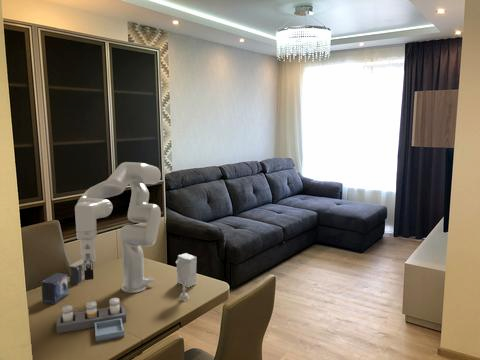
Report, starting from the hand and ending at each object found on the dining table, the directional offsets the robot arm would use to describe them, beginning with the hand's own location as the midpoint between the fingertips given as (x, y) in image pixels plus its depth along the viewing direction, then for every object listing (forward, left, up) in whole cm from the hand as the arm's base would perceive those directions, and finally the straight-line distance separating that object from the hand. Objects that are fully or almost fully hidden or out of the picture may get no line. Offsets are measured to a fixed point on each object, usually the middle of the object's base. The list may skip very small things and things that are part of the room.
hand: (89, 274), depth 161 cm
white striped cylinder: (0, 0, -20) cm, 20 cm away
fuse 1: (+9, 0, -20) cm, 22 cm away
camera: (+5, -45, -21) cm, 50 cm away
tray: (-6, +11, -20) cm, 24 cm away
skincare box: (-45, -22, -21) cm, 54 cm away
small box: (+15, -27, -21) cm, 37 cm away
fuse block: (0, 0, -20) cm, 20 cm away
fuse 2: (-9, 0, -20) cm, 22 cm away
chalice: (-40, -7, -21) cm, 46 cm away
